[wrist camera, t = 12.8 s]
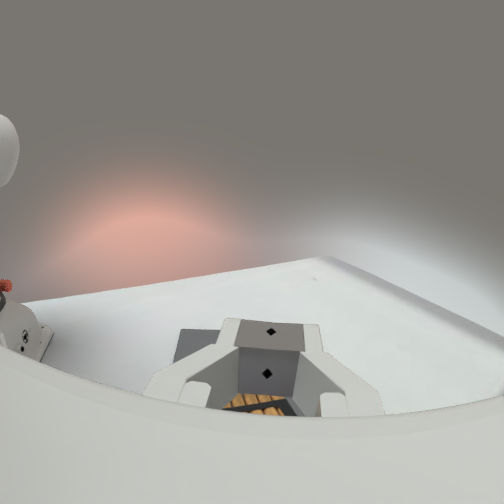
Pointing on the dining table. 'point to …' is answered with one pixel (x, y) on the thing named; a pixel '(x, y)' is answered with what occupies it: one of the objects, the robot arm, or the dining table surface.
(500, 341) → the dining table surface
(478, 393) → the dining table surface
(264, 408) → the ammunition clip
